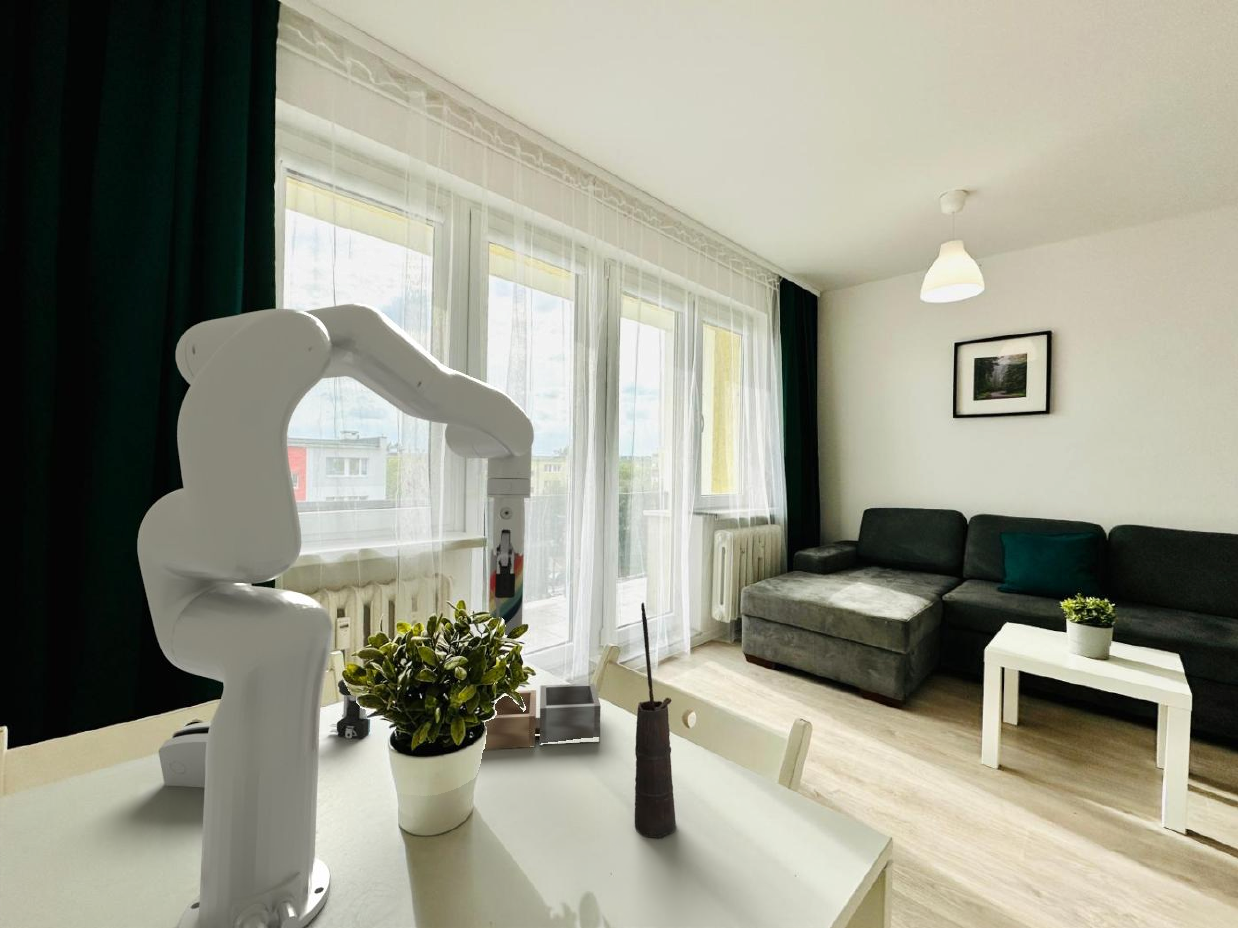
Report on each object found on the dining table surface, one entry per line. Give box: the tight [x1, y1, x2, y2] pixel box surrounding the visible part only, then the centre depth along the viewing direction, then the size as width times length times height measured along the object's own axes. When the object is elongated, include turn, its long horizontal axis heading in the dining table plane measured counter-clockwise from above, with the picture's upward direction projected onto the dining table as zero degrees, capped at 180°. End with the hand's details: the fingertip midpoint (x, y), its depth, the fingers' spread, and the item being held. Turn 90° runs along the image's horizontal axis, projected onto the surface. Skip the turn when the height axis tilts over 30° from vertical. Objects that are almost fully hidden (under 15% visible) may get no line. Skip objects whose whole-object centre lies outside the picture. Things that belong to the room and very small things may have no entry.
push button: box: [330, 679, 371, 740], centre depth 90 cm, size 7×5×10 cm
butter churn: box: [634, 602, 677, 838], centre depth 68 cm, size 9×10×28 cm
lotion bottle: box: [488, 531, 525, 635], centre depth 92 cm, size 6×6×20 cm
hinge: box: [158, 721, 211, 788], centre depth 75 cm, size 17×5×10 cm, turn 87°
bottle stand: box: [484, 682, 601, 751], centre depth 92 cm, size 22×11×6 cm, turn 98°
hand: (506, 592), depth 92 cm, fingers closed on lotion bottle, 5 cm apart
